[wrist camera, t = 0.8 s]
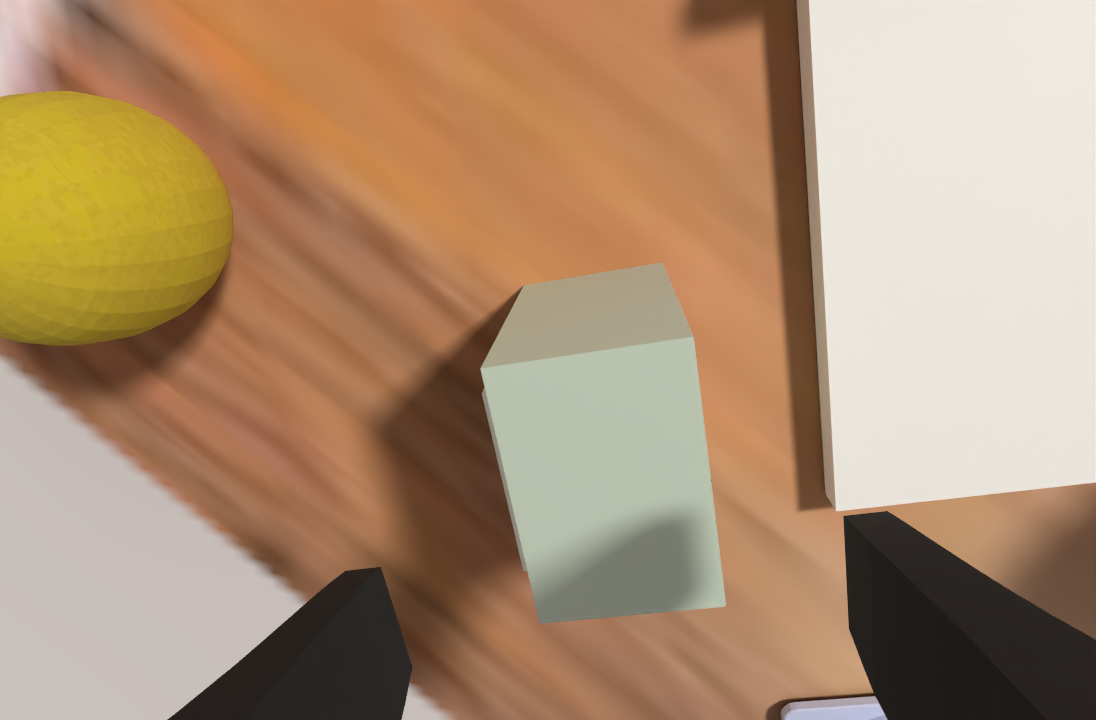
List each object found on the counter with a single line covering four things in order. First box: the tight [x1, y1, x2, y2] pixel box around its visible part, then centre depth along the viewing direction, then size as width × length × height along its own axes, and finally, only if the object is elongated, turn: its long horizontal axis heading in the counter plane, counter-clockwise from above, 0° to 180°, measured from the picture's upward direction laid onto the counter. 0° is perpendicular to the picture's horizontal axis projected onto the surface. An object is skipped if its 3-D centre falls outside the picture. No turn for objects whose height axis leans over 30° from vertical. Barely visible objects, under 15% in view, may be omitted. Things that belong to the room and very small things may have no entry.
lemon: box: [0, 91, 233, 346], centre depth 15 cm, size 6×6×8 cm
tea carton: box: [480, 262, 726, 624], centre depth 16 cm, size 4×6×7 cm
